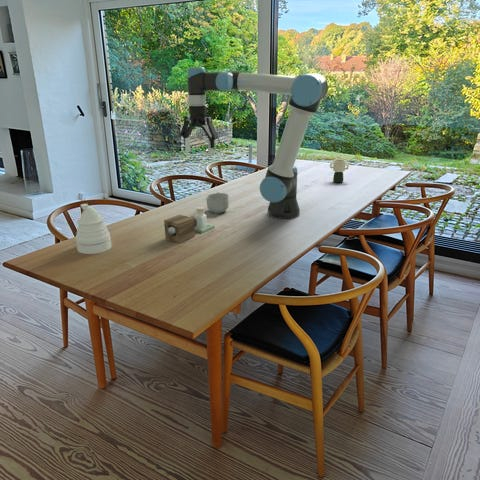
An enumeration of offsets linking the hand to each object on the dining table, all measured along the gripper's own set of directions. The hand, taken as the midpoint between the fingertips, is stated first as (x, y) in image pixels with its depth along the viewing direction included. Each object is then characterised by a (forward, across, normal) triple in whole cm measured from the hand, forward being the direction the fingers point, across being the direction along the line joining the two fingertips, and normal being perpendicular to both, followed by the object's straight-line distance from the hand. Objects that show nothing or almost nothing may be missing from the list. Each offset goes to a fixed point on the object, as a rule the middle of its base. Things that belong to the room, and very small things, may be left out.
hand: (199, 153), depth 204 cm
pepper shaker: (+29, -13, +16) cm, 35 cm away
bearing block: (+29, -13, +30) cm, 43 cm away
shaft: (+26, -13, +28) cm, 41 cm away
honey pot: (+29, +8, +56) cm, 64 cm away
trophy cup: (+29, -28, -94) cm, 102 cm away
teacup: (+29, -3, -9) cm, 31 cm away
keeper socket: (+29, -13, +16) cm, 35 cm away
